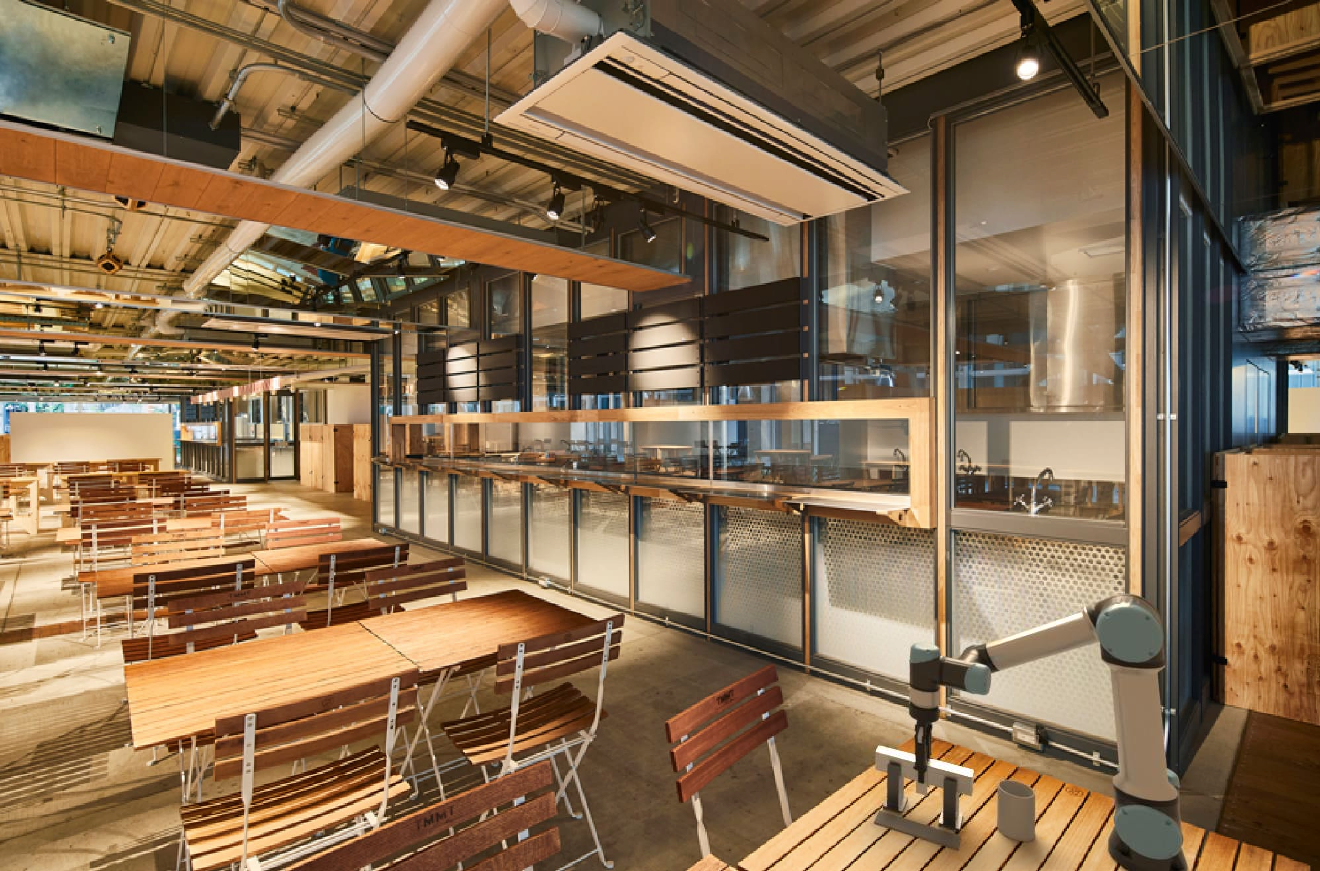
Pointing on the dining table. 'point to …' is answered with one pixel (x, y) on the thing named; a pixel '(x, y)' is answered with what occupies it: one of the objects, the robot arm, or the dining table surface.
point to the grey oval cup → (1016, 810)
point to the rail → (934, 769)
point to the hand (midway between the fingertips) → (922, 789)
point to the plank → (918, 829)
